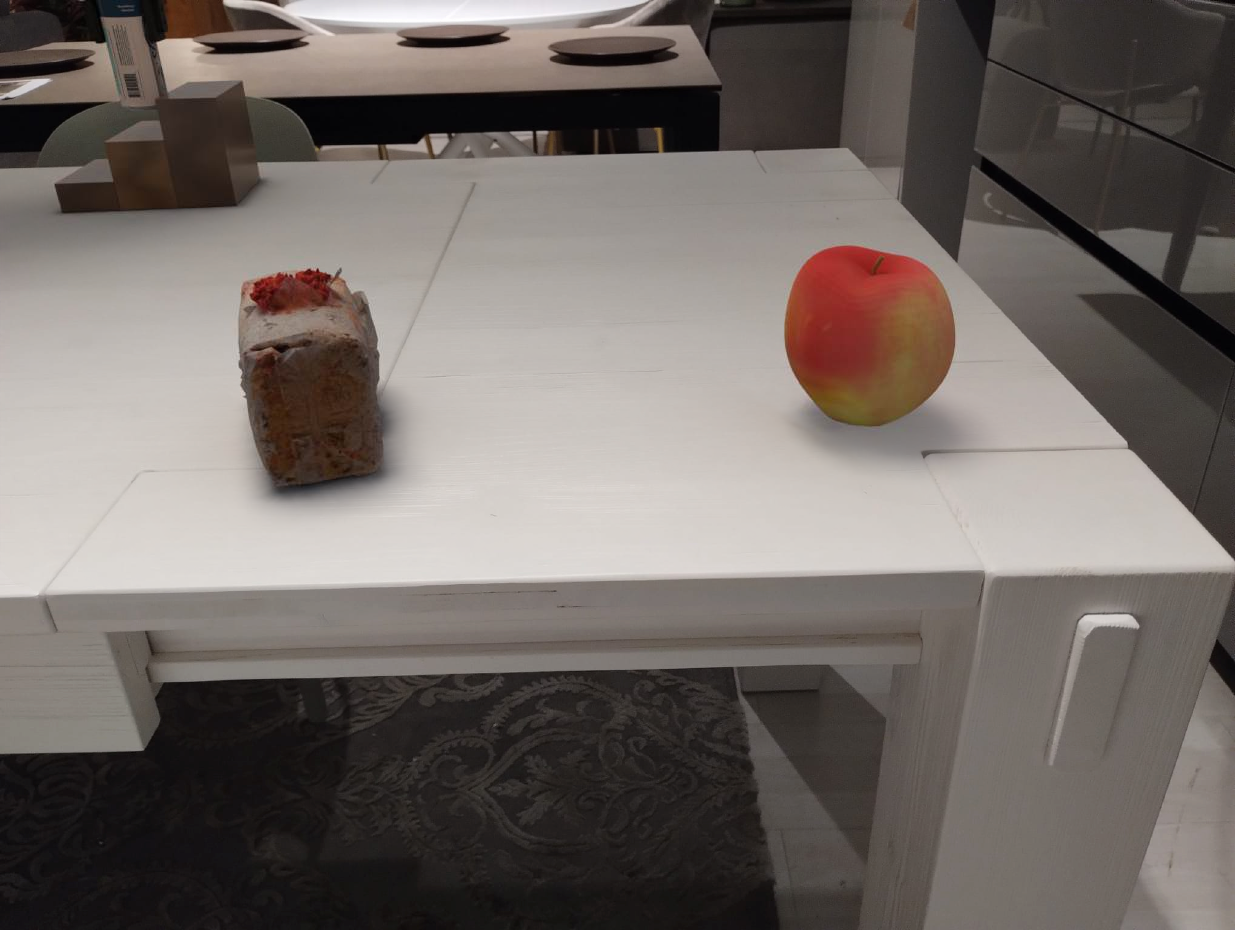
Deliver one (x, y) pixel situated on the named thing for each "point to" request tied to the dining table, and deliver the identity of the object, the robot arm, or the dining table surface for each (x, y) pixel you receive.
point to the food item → (310, 376)
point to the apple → (868, 334)
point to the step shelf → (173, 156)
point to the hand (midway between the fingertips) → (130, 39)
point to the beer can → (132, 54)
